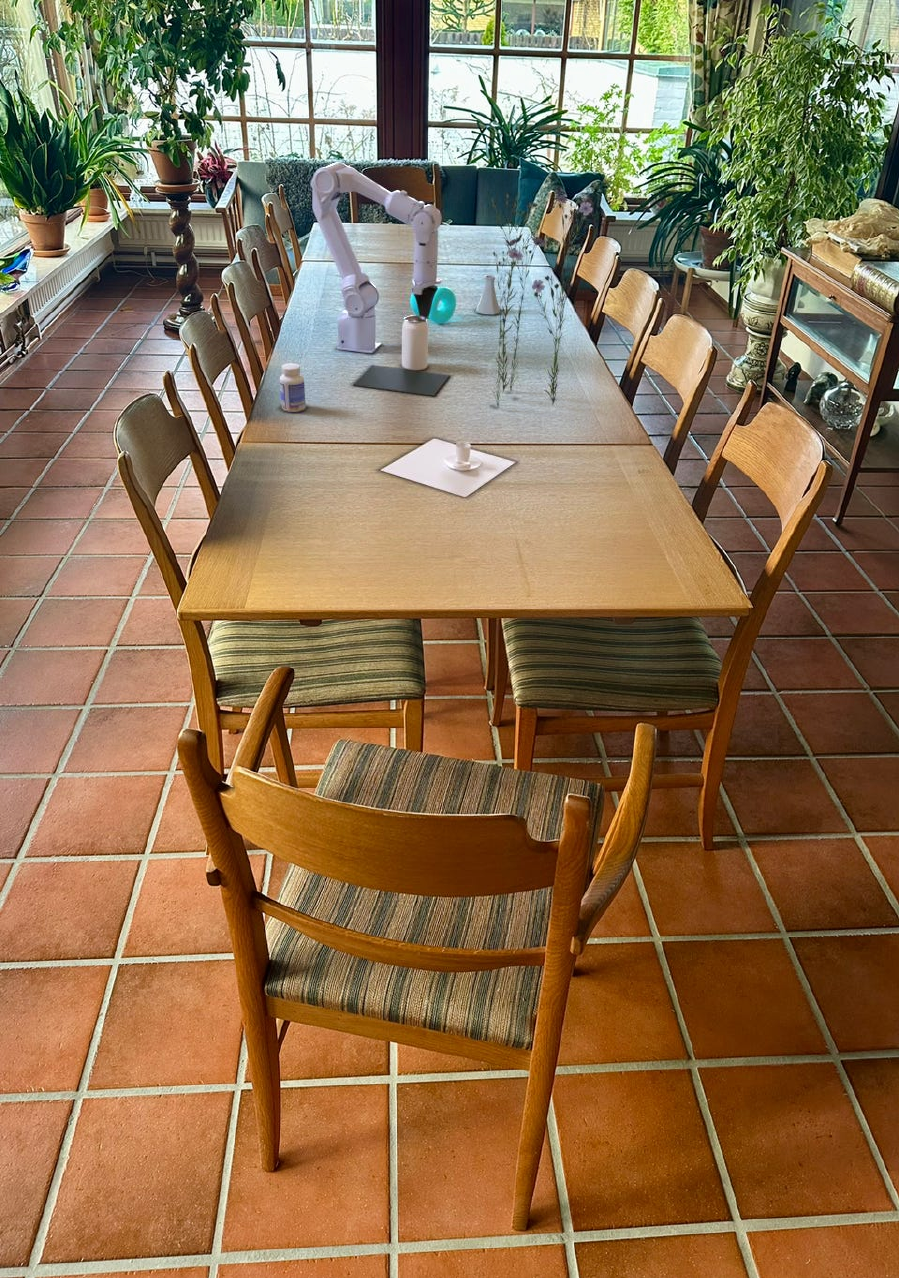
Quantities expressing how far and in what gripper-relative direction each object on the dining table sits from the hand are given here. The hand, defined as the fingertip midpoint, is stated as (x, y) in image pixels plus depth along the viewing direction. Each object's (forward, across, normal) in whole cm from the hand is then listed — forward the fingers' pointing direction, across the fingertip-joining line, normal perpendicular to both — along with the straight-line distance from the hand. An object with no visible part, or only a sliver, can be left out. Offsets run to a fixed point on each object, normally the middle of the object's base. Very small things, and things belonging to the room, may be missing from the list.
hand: (424, 316), depth 249 cm
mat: (+10, -19, 0) cm, 21 cm away
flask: (+11, +45, -7) cm, 47 cm away
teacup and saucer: (+11, -62, -23) cm, 67 cm away
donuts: (+11, +31, +6) cm, 33 cm away
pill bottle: (+11, -44, +18) cm, 49 cm away
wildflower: (+11, -21, -31) cm, 39 cm away
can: (+11, -8, 0) cm, 13 cm away
